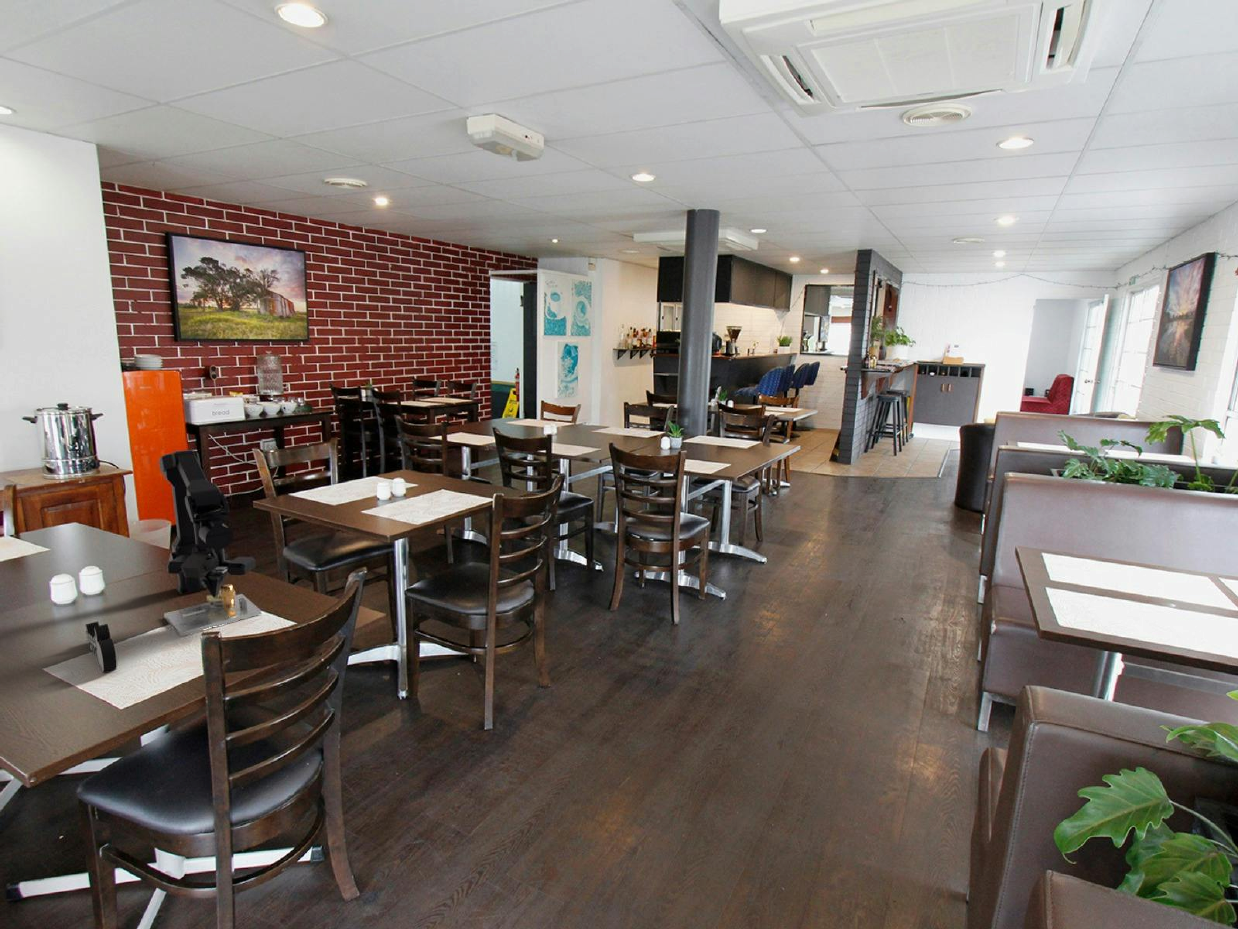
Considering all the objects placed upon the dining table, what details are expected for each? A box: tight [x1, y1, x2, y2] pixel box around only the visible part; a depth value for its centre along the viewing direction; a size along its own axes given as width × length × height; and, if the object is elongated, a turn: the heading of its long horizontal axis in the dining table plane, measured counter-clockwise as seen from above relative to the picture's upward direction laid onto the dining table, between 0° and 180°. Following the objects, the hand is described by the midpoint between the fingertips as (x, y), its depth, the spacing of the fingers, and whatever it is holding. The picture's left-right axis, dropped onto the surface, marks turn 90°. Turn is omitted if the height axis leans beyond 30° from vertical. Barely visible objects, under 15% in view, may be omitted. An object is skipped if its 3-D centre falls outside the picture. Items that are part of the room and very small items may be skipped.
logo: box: [85, 621, 118, 674], centre depth 143 cm, size 21×2×10 cm, turn 47°
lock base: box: [163, 593, 262, 638], centre depth 165 cm, size 15×18×4 cm
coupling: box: [206, 583, 237, 609], centre depth 166 cm, size 12×6×6 cm, turn 43°
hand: (215, 596), depth 162 cm, fingers closed
